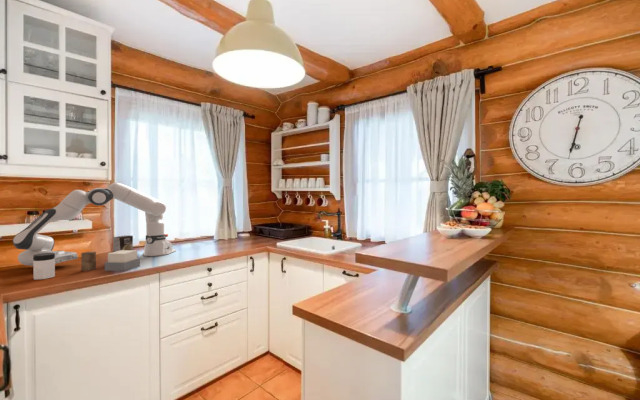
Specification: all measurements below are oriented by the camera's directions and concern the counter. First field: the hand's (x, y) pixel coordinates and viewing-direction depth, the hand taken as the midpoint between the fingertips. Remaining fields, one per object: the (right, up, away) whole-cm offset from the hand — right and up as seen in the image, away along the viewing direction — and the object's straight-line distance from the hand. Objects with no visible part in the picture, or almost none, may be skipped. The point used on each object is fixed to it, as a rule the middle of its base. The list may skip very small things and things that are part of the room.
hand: (68, 259), depth 163 cm
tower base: (+30, -6, +3) cm, 30 cm away
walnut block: (+13, -6, -1) cm, 14 cm away
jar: (+2, -6, -16) cm, 17 cm away
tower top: (+30, -1, +3) cm, 30 cm away
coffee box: (+18, -5, +20) cm, 27 cm away
